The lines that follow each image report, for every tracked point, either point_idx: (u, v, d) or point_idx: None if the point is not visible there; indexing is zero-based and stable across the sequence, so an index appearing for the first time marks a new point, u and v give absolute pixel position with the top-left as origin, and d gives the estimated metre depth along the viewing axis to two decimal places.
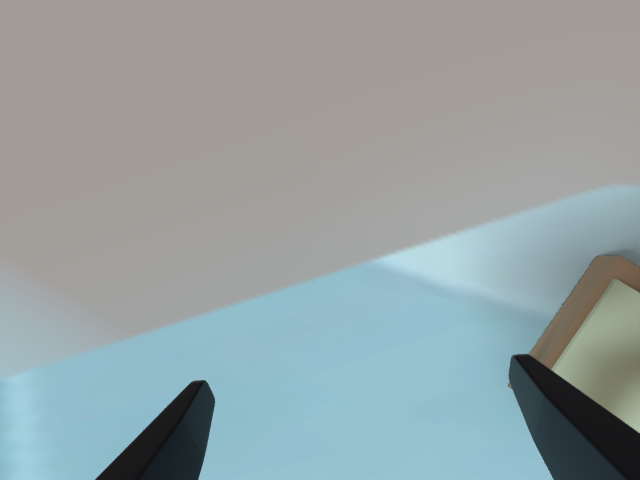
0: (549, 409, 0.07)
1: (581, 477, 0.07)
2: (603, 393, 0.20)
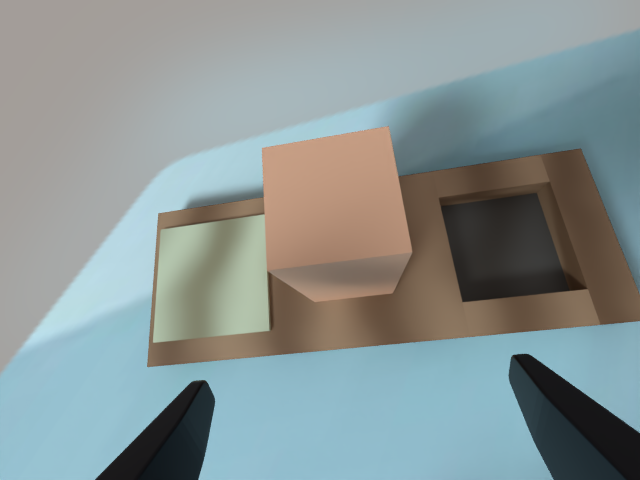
0: (549, 409, 0.07)
1: (581, 477, 0.07)
2: (195, 314, 0.21)
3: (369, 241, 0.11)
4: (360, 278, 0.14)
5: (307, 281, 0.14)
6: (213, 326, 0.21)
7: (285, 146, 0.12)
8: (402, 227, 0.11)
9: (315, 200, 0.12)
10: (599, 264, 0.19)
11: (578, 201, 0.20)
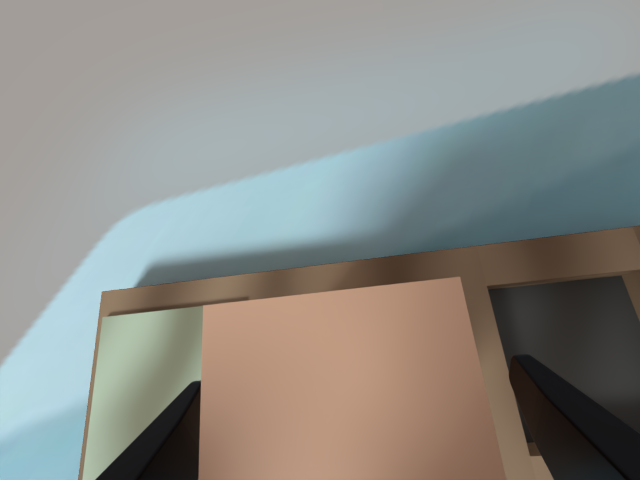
0: (549, 409, 0.07)
1: (581, 477, 0.07)
2: None
3: None
4: None
5: None
6: None
7: (248, 306, 0.06)
8: None
9: (305, 449, 0.05)
10: None
11: None
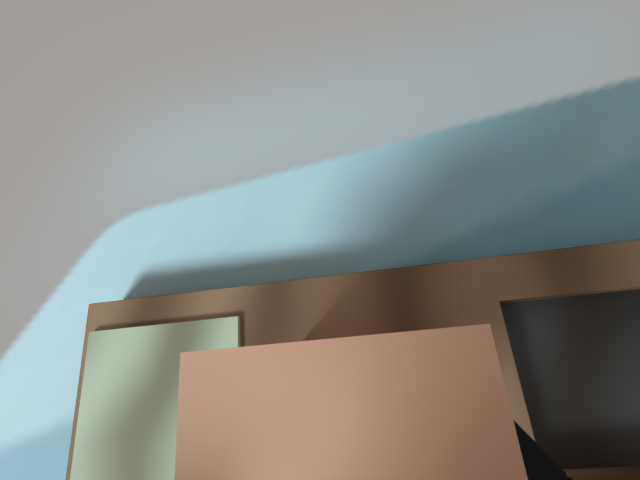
0: None
1: None
2: (129, 477, 0.14)
3: None
4: None
5: None
6: None
7: (234, 354, 0.05)
8: None
9: None
10: None
11: None
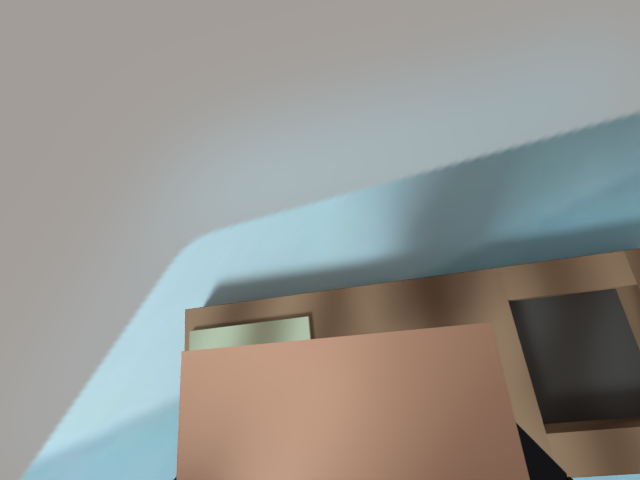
0: None
1: None
2: None
3: None
4: None
5: None
6: None
7: (235, 353, 0.05)
8: None
9: None
10: None
11: None
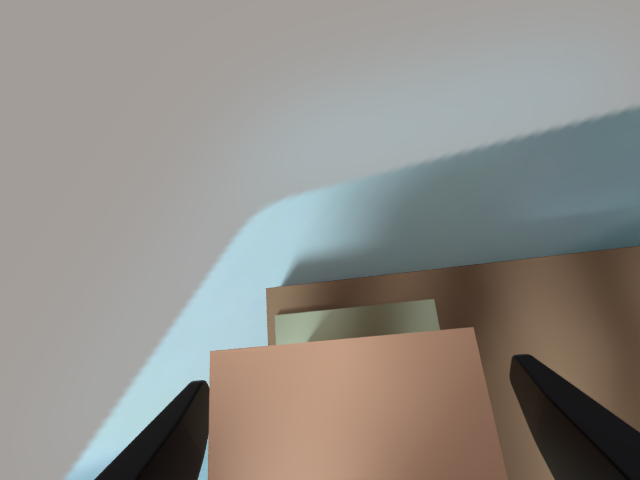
0: (550, 409, 0.07)
1: (582, 477, 0.07)
2: None
3: None
4: None
5: None
6: None
7: (256, 353, 0.06)
8: None
9: None
10: None
11: None
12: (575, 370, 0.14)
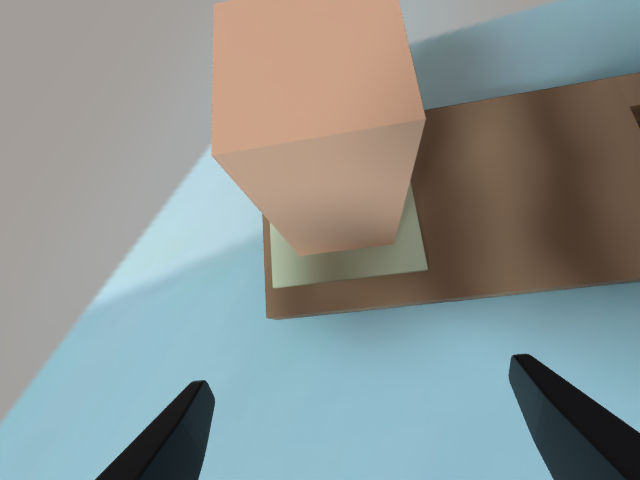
0: (549, 409, 0.07)
1: (581, 477, 0.07)
2: None
3: (361, 108, 0.07)
4: (351, 198, 0.11)
5: (280, 199, 0.10)
6: (351, 266, 0.16)
7: None
8: (410, 86, 0.07)
9: (284, 61, 0.08)
10: None
11: None
12: (515, 178, 0.17)
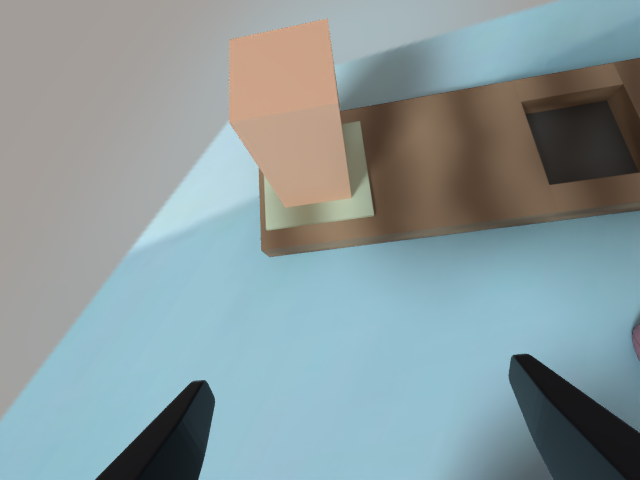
0: (549, 409, 0.07)
1: (581, 477, 0.07)
2: None
3: (307, 97, 0.14)
4: (311, 154, 0.17)
5: (267, 153, 0.17)
6: (321, 213, 0.23)
7: (247, 37, 0.16)
8: (332, 86, 0.14)
9: (268, 73, 0.15)
10: None
11: None
12: (438, 152, 0.24)
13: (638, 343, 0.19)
